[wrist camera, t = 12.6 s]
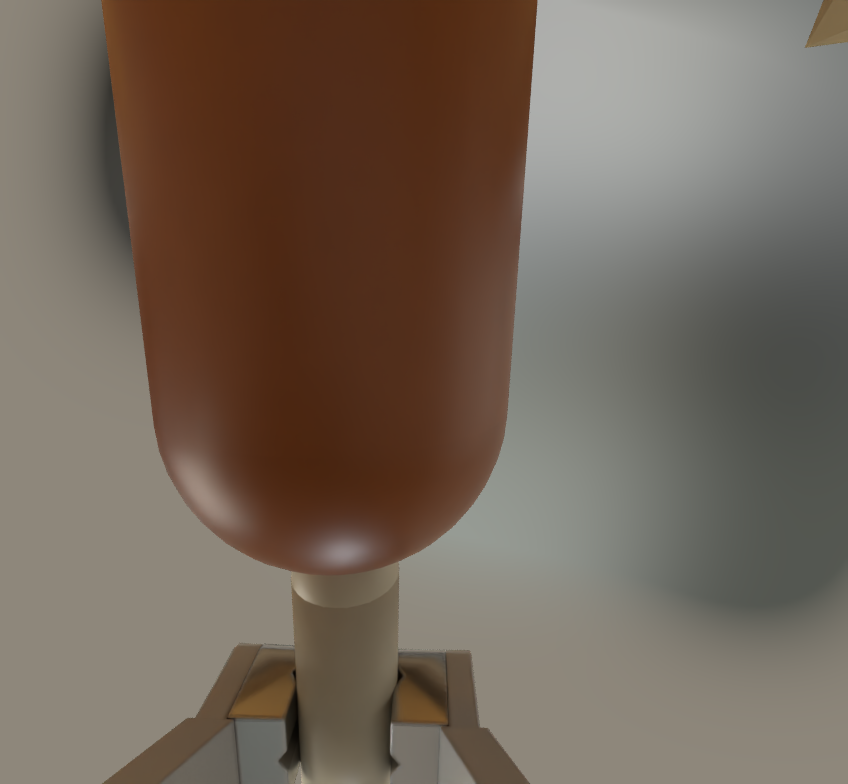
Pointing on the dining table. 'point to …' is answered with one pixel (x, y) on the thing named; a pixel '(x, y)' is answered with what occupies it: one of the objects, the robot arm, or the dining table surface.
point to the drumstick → (327, 297)
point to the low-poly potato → (830, 24)
